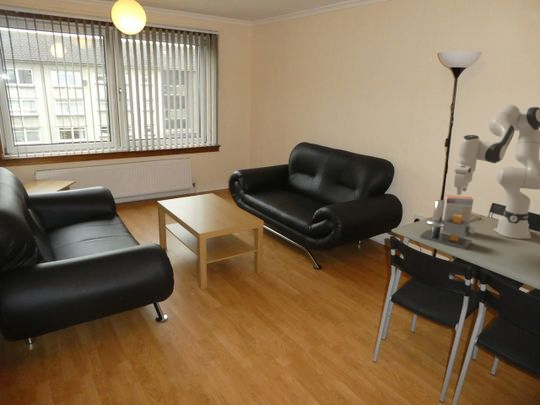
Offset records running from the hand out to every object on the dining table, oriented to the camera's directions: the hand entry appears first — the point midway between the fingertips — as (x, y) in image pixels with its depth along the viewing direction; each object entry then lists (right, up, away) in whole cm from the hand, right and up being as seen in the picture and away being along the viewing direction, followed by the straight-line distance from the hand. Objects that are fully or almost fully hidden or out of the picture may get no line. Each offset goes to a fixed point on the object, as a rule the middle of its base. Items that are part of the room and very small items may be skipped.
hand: (461, 192), depth 207 cm
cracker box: (+8, -22, +25) cm, 35 cm away
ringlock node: (-4, -26, +11) cm, 28 cm away
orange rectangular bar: (0, -25, +8) cm, 27 cm away
